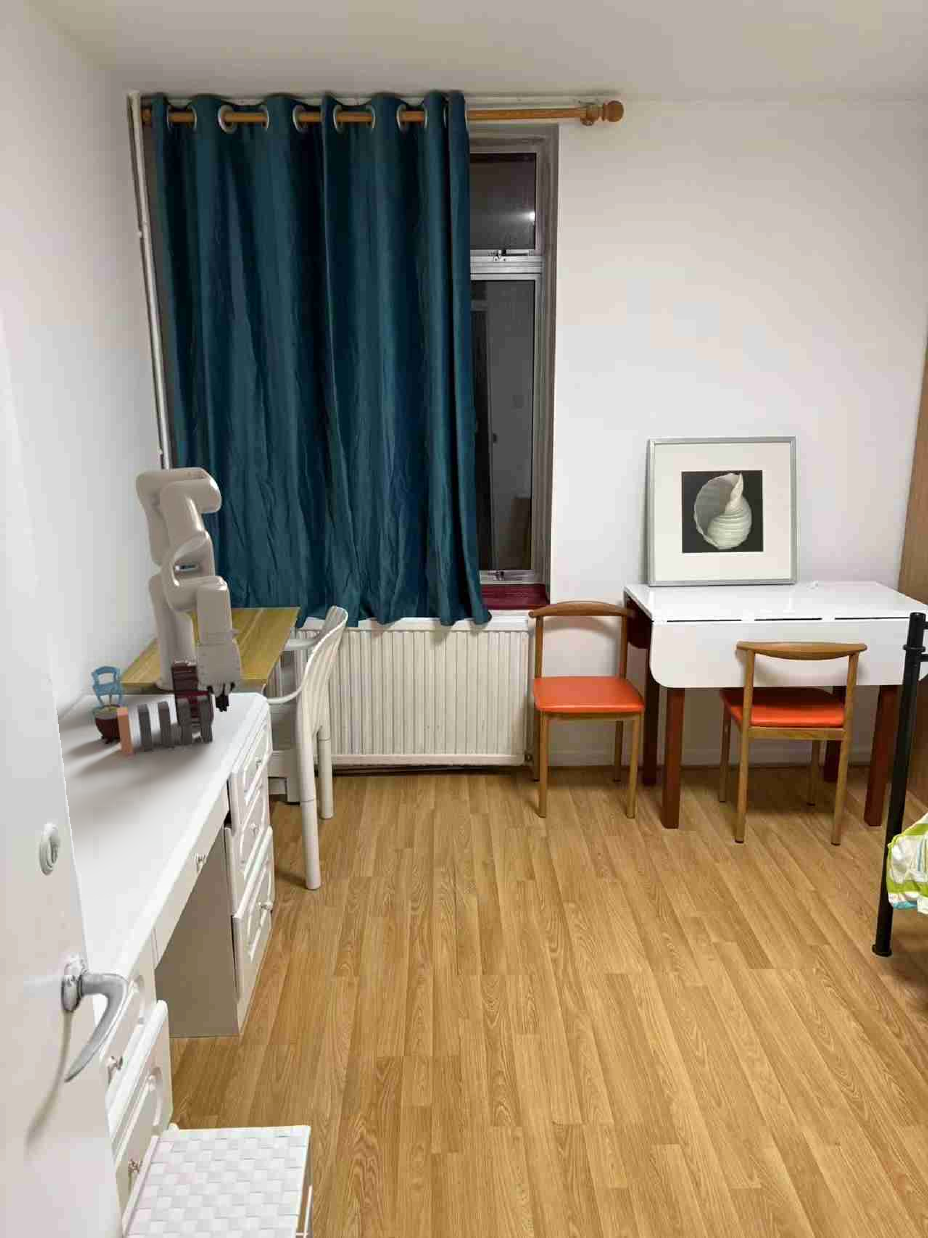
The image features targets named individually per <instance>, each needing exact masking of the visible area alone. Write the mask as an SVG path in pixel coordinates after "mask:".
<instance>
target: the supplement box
mask: <svg viewBox="0 0 928 1238" xmlns="http://www.w3.org/2000/svg"><path fill="white" fill-rule="evenodd" d="M171 674H172V683H173V690H172V691H173V699H174V707H175V714H176V715H175V716H176V725H177V728H180V723H179V714H178V704H177V699H183V698H187V700H188V703H189V705H190V715H191V725H192V727H200V726H199V716H198V705H197V696H203V695H206V696H207V698H208V700H209V704H210V715H211V726H213V724H214V720H215V712H214V705H213V694H212V693H210V692H209V691H203V690H198V688H197V684H198V679H197V674H196V660H183V661H174V662H173V664H172V666H171Z"/></svg>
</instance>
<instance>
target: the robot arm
mask: <svg viewBox="0 0 928 1238" xmlns="http://www.w3.org/2000/svg"><path fill="white" fill-rule="evenodd" d="M135 490H136V491H135V492H136V495H137V498H138V500H139V502H140V504H141V506H142V508H143V510H144V512H145V513H144V514H145V516H146V521H147V529H148V530H147V532H148V539H149V540H148V541H149V549H150V556H151V559H152V562H153V563H154V565H155V566H156V567H160V572H159V573H154V574H153V575H152V576H151V577H150V578H149V580H148V582H147V583H148V584H147V586H148V587H147V589H148V592H149V593H148V594H149V598H150V601H151V605H152V608H153V609H152V610H153V613H154V622H155V628H156V629H155V630H156V638H157V639H156V640H157V645H158V657H159V665H160V676H159V677H158V678H157V679H156V681H155V683H156V684H155V685H156V687H157V688H158V689H161V690H164V691H173V683H172V674H171V666H172V664H173V662H174V661H183V660H196V674H197V679H198V684H197V688H198V690H203V691H209V692H210V693H212V696H214V702H215V704H214V705H215V708H216V709H218V710H219V712H220V713H223V712H228V707H230V697H229V695H230V694H231V692H232V691H233V690H234V688H235V687H238V686H241V685H243V684H244V682H245V681H244V678H243V668H242V662H241V655H240V651H239V646H238V643H237V642H238V641H237V639H236V638H235V637H236V636H239V635H240V630H239V629H237V628H236V629H235V628H234V627H233V622H232V620H233V619H232V610H231V598H230V597H231V596H230V589H229V587H228V584H227V582H226V581H225V580H224V579H223V577H222V576H220V575H216V566H215V557H214V556H215V555H214V547H213V541H212V538H211V536H210V534H209V532H208V531H207V530H206V528H205V523H204V520H203V517H202V514H211V513H216V512H218V511H219V510H220V509H221V506H222V496H221V494H222V493H221V491H220V489H219V486H218V484H217V482H216V481H215V480H214V478H213V477H212V476H211V475H210V474H209V473H208V472H207V471H206V470H205V469H203V468H202V467H196V466H194V467H182V468H181V467H180V468H166V469H165V468H163V469H154V470H149V471H148V470H147V471H144V472H141V473H139V475H137V476H136V479H135ZM188 565H189V566H190V565H195V567H192V568H183V569H180V568H179V569H175V570H174V568H175V567H181V566H188ZM190 611H191V612H192V611H197V621H198V622H197V623H198V633H199V634H198V635H199V641H197V642H196V643H195V635H194V625H193V620H192V617H191V616H190V615H189V614H188V613H187V612H190ZM195 644H196V645H195ZM218 685H222V690H221V692H220V690H219V686H218Z"/></svg>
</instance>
